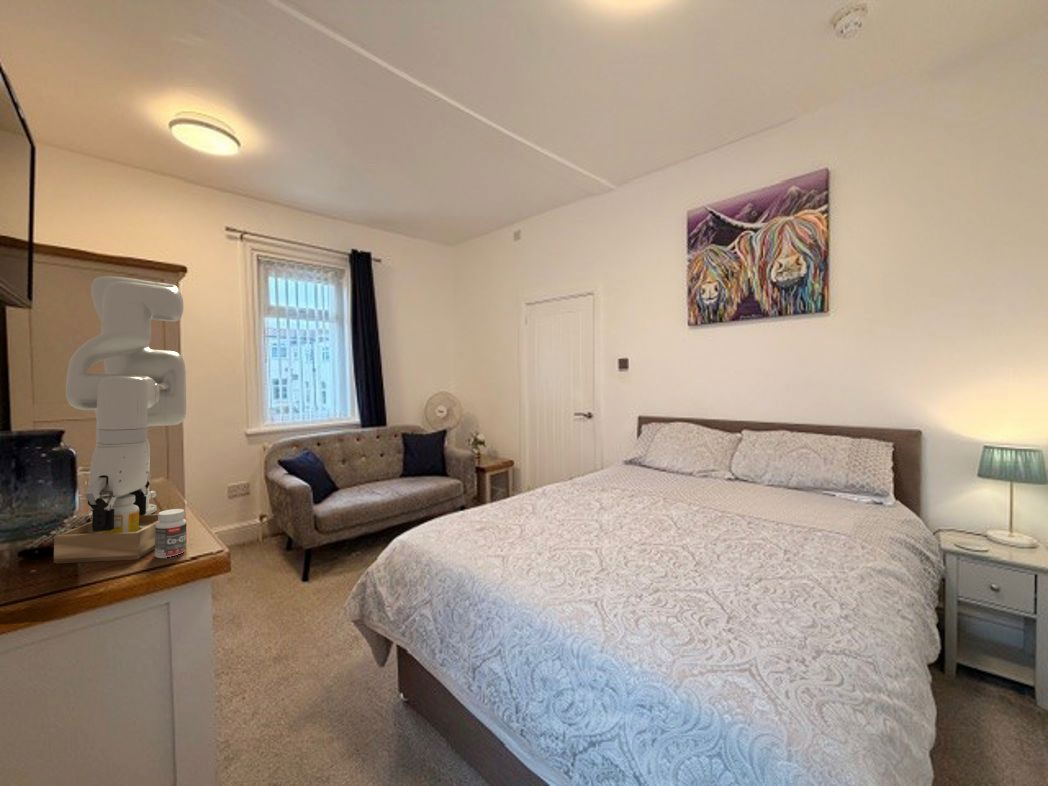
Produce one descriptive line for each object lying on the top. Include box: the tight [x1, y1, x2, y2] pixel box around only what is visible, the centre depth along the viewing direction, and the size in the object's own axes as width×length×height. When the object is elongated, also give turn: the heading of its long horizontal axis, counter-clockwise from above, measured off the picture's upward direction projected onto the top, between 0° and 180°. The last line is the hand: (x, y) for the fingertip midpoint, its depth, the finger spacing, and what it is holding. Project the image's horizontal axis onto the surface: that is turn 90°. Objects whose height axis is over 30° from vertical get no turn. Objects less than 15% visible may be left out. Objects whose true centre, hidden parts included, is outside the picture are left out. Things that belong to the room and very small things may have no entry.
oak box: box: [53, 513, 160, 564], centre depth 87 cm, size 13×13×5 cm
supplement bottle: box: [103, 494, 139, 533], centre depth 87 cm, size 5×5×10 cm
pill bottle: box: [154, 508, 187, 559], centre depth 85 cm, size 5×5×8 cm
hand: (120, 522), depth 87 cm, fingers open, 9 cm apart
